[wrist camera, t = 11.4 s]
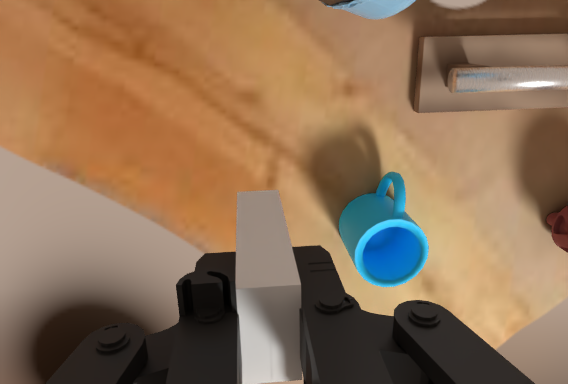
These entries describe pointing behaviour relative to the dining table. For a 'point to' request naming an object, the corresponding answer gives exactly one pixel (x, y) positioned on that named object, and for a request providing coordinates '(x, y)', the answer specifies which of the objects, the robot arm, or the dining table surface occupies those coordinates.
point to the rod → (508, 79)
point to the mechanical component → (559, 228)
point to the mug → (383, 235)
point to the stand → (485, 53)
